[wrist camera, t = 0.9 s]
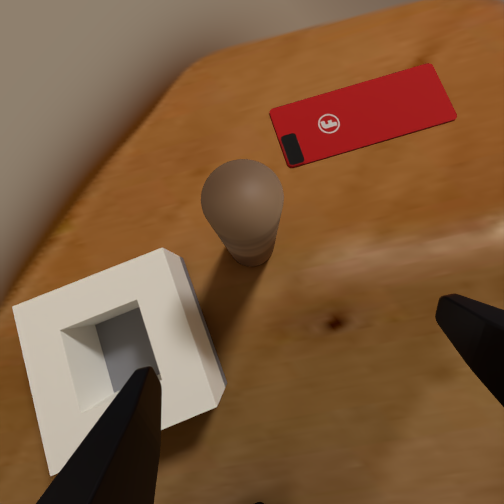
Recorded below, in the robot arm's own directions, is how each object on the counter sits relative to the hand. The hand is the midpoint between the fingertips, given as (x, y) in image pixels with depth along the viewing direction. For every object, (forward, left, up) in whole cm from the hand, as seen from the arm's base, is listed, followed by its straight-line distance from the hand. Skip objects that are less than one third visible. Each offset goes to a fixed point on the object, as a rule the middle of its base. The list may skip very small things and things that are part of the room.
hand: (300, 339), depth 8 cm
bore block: (+2, +10, -12) cm, 16 cm away
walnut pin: (+6, 0, -12) cm, 14 cm away
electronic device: (+13, -13, -13) cm, 23 cm away
